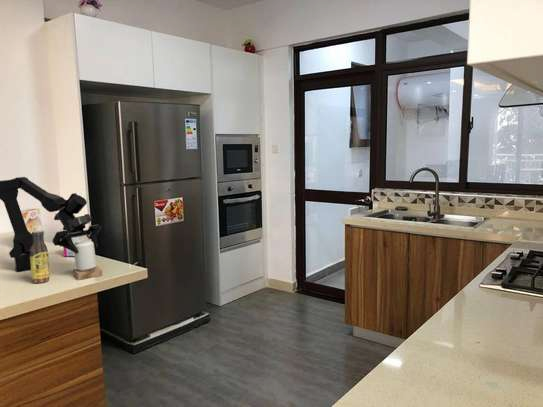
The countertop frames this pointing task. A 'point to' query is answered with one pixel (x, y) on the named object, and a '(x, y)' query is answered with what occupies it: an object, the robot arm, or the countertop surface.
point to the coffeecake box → (32, 219)
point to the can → (85, 255)
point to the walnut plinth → (87, 273)
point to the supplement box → (68, 252)
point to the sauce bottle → (39, 258)
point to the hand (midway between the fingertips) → (87, 250)
